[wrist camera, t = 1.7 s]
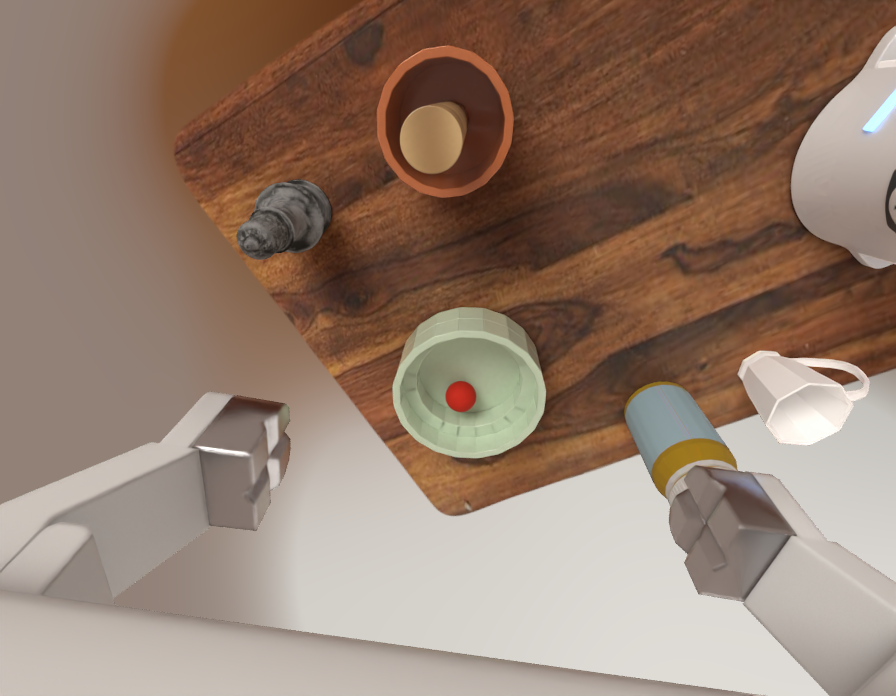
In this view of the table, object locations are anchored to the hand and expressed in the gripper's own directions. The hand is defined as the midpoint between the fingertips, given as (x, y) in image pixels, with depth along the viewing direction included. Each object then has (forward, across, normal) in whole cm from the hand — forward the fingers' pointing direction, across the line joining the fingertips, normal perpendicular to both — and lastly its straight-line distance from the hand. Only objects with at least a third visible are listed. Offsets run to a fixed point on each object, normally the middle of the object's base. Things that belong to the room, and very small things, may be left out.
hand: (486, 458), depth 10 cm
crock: (+36, +3, -4) cm, 36 cm away
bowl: (+36, -2, +19) cm, 40 cm away
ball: (+33, -2, +21) cm, 39 cm away
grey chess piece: (+36, +15, +5) cm, 39 cm away
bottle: (+36, -23, +20) cm, 47 cm away
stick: (+35, +3, -4) cm, 35 cm away
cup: (+36, -33, +13) cm, 50 cm away
